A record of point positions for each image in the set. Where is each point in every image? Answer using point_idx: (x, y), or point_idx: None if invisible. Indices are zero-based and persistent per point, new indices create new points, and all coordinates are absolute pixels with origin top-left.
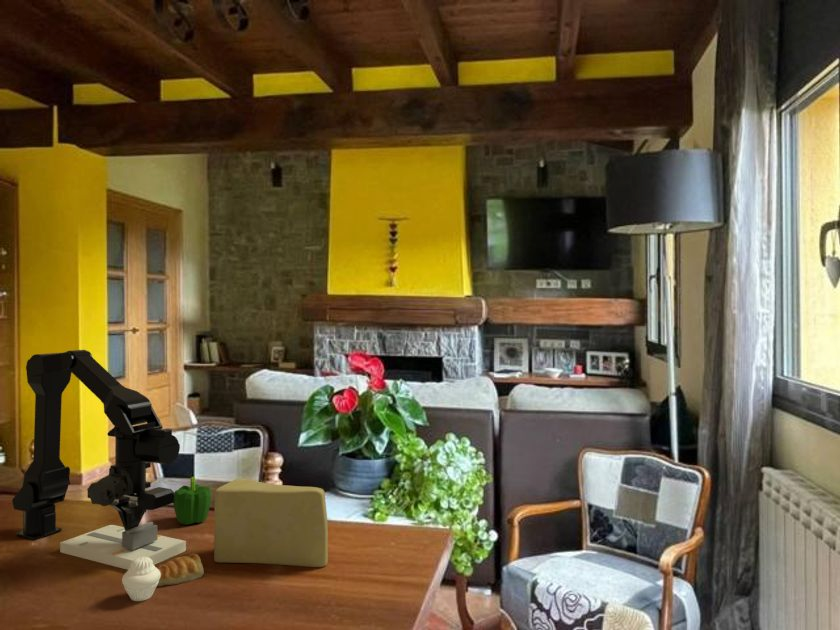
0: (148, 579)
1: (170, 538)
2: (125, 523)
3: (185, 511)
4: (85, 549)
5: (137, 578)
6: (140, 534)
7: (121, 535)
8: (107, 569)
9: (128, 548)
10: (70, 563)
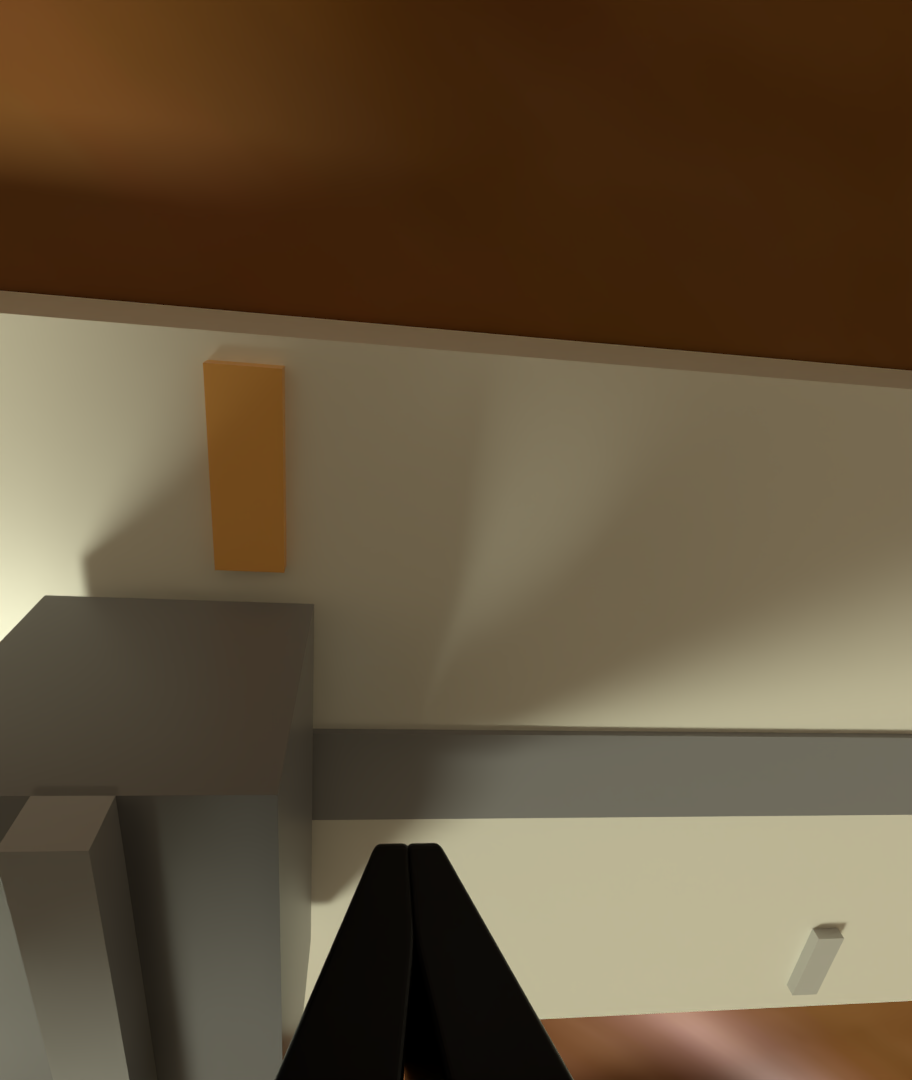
0: None
1: None
2: (449, 1068)
3: None
4: (880, 386)
5: None
6: None
7: (706, 876)
8: (210, 176)
9: (157, 602)
10: (897, 148)
